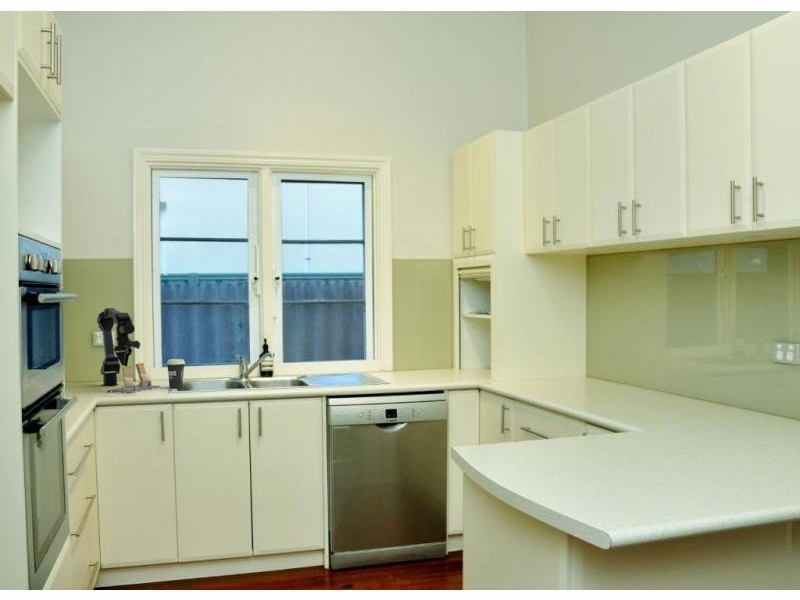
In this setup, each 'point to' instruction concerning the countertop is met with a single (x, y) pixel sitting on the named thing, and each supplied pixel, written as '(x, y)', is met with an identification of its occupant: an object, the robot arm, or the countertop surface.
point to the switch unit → (135, 387)
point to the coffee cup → (175, 373)
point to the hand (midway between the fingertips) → (124, 365)
